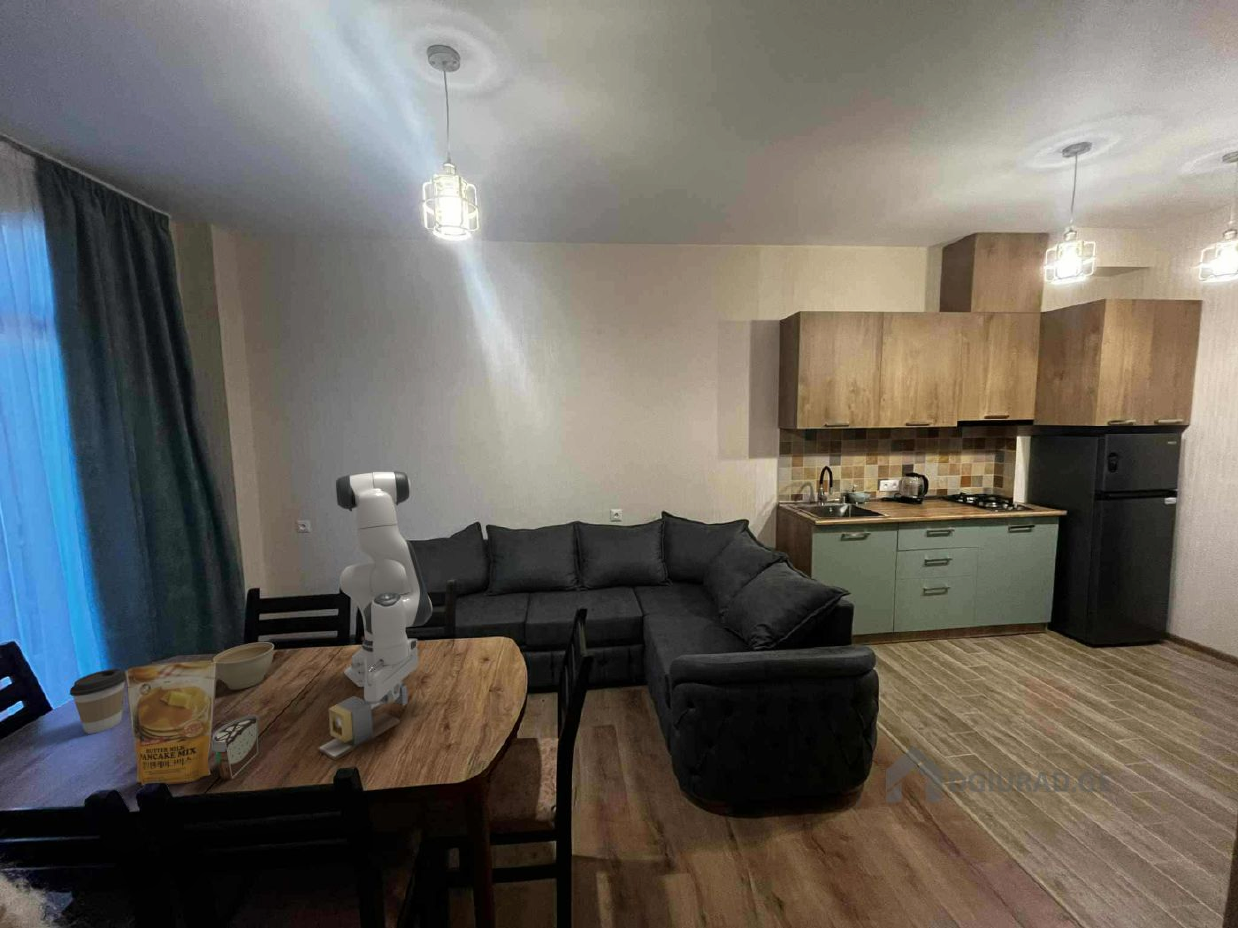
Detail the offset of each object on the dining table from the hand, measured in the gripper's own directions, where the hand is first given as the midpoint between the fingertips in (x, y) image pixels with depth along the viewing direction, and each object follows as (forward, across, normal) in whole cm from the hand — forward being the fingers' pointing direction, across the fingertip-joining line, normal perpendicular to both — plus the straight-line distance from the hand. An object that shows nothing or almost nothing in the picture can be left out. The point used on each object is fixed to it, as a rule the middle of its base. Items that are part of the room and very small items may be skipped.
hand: (394, 699), depth 135 cm
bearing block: (+7, -8, +7) cm, 12 cm away
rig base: (+7, -6, +6) cm, 11 cm away
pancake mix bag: (+7, -24, +42) cm, 49 cm away
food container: (+7, -20, +31) cm, 38 cm away
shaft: (+3, -3, +5) cm, 7 cm away
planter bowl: (+7, +18, +66) cm, 68 cm away
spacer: (+1, -11, +8) cm, 14 cm away
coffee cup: (+7, -8, +87) cm, 87 cm away
